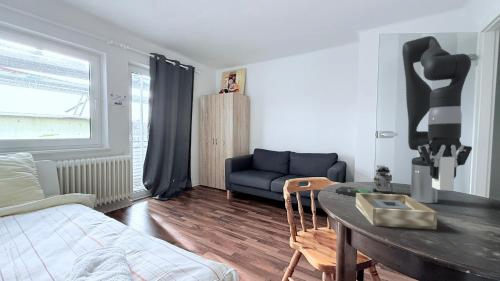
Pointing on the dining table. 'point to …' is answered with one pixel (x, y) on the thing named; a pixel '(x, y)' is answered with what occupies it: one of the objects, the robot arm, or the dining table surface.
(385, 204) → the block
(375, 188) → the figurine
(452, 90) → the robot arm
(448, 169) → the plug
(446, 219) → the dining table surface
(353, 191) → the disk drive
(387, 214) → the walled box
